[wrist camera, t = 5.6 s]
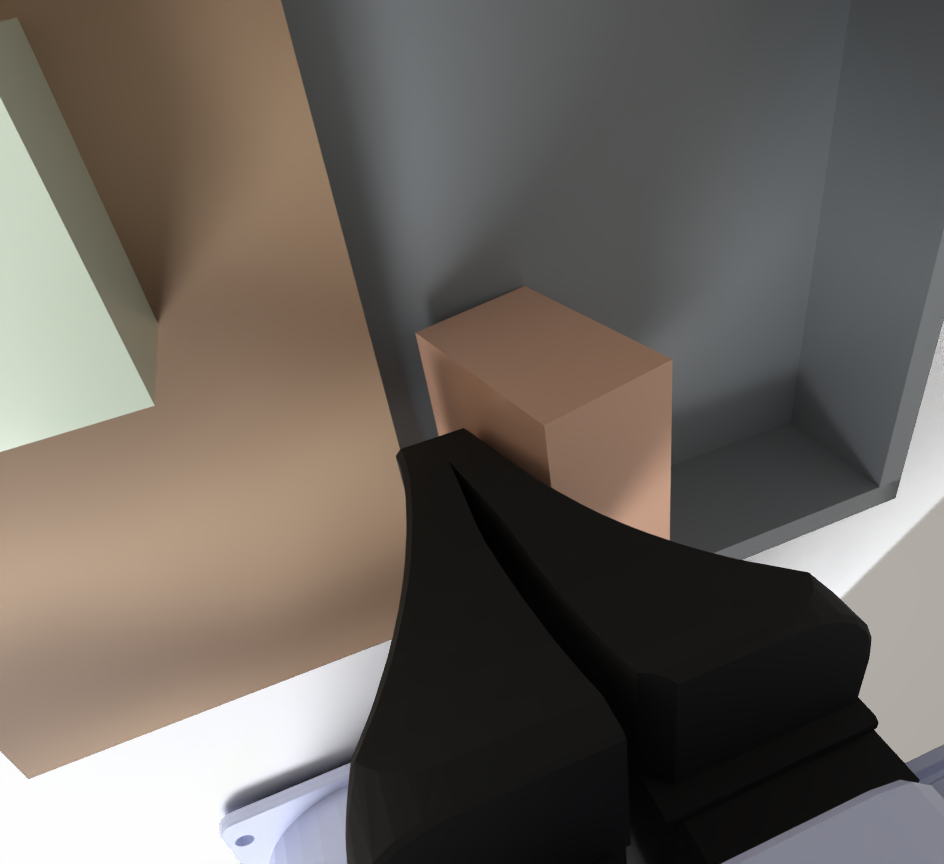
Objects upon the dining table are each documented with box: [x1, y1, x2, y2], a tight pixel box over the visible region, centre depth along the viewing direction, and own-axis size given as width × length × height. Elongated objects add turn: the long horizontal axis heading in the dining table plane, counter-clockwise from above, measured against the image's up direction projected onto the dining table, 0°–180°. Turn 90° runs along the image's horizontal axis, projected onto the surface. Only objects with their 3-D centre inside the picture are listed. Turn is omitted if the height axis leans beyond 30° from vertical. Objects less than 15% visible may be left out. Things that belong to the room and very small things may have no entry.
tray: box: [281, 0, 944, 560], centre depth 13 cm, size 15×11×4 cm
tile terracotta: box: [415, 286, 673, 540], centre depth 13 cm, size 4×4×2 cm
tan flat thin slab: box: [0, 0, 406, 779], centre depth 12 cm, size 15×9×2 cm, turn 9°
